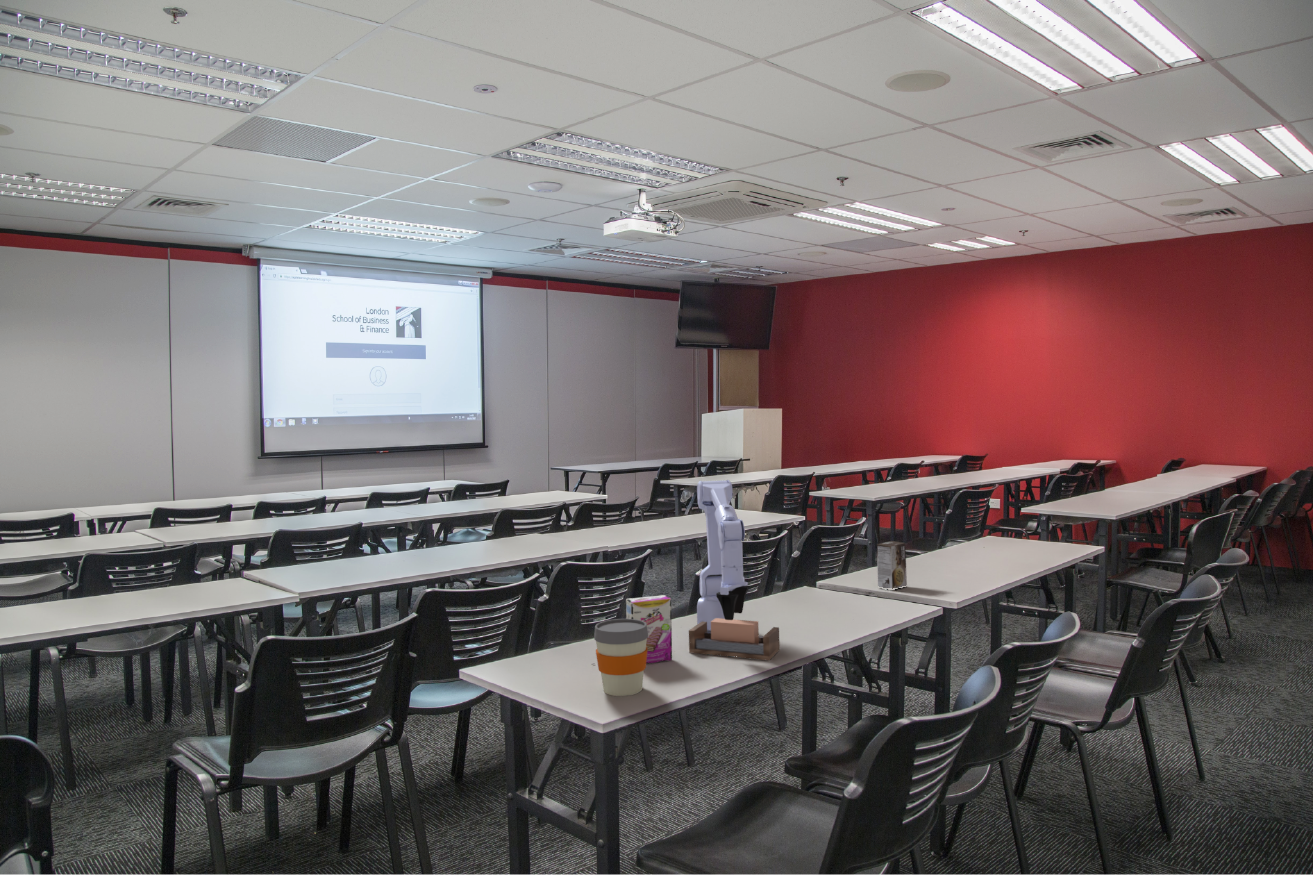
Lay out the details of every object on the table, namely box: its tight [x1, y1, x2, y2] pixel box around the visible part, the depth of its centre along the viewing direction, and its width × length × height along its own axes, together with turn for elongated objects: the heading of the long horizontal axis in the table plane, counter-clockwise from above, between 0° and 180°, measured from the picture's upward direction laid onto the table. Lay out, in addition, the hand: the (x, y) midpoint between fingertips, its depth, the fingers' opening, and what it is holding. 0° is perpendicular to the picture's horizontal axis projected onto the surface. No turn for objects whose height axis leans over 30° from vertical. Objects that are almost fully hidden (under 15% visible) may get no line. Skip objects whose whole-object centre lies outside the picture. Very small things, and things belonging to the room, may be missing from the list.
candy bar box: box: [625, 594, 673, 665], centre depth 206 cm, size 11×5×16 cm, turn 111°
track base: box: [688, 621, 781, 661], centre depth 212 cm, size 22×10×6 cm, turn 66°
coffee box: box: [876, 540, 908, 589], centre depth 285 cm, size 9×6×16 cm
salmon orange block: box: [710, 618, 760, 643], centre depth 212 cm, size 12×4×7 cm, turn 66°
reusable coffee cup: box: [593, 618, 648, 697], centre depth 184 cm, size 13×13×15 cm
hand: (733, 616), depth 212 cm, fingers open, 7 cm apart
